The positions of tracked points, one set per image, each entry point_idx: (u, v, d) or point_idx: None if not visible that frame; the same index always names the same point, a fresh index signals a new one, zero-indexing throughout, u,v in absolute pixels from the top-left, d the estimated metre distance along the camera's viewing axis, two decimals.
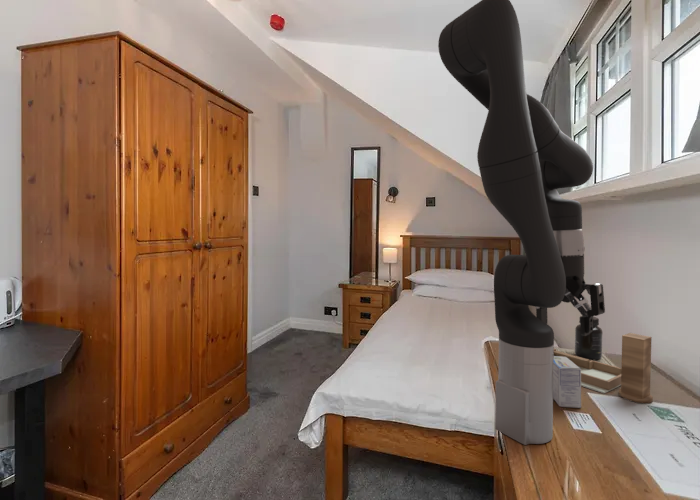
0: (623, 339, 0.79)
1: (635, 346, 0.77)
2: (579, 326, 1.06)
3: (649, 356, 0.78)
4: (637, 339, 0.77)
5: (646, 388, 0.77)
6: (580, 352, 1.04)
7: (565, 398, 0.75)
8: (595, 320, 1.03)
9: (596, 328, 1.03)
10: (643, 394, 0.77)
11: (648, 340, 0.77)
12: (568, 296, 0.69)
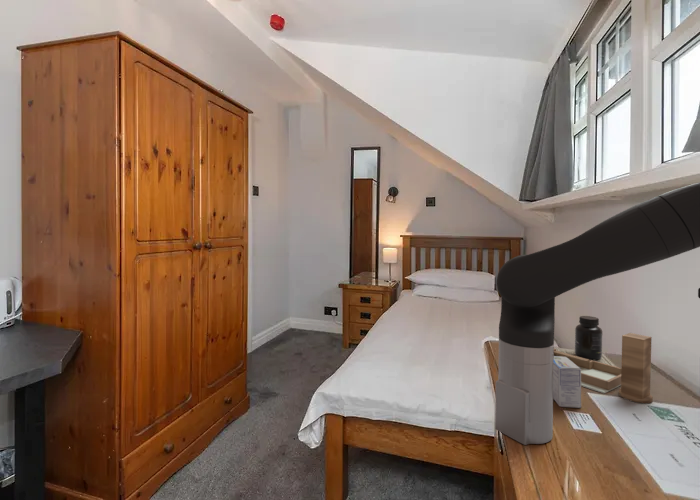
0: (623, 339, 0.79)
1: (635, 346, 0.77)
2: (579, 326, 1.06)
3: (649, 356, 0.78)
4: (637, 339, 0.77)
5: (646, 388, 0.77)
6: (580, 352, 1.04)
7: (565, 398, 0.75)
8: (595, 320, 1.03)
9: (596, 328, 1.03)
10: (643, 394, 0.77)
11: (648, 340, 0.77)
12: None
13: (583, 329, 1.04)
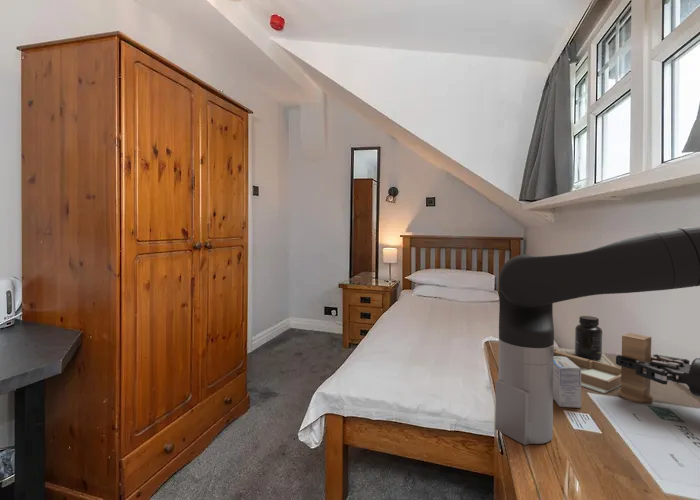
0: (623, 339, 0.79)
1: (635, 346, 0.77)
2: (579, 326, 1.06)
3: (649, 356, 0.78)
4: (637, 339, 0.77)
5: (646, 388, 0.77)
6: (580, 352, 1.04)
7: (565, 398, 0.75)
8: (595, 320, 1.03)
9: (596, 328, 1.03)
10: (643, 394, 0.77)
11: (648, 340, 0.77)
12: (665, 362, 0.73)
13: (583, 329, 1.04)
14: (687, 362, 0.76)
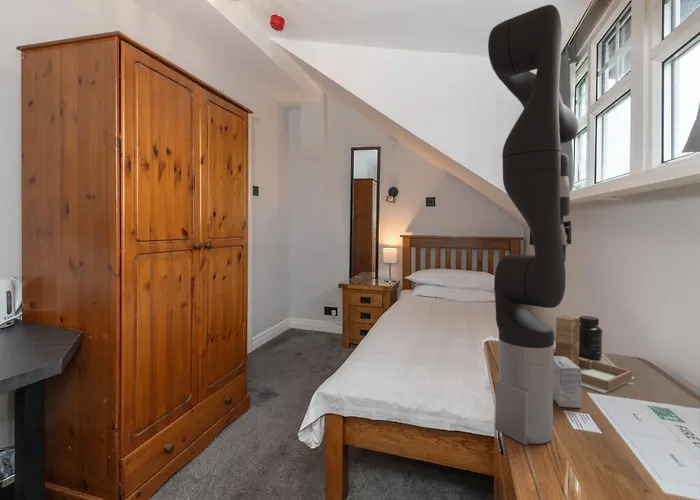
0: (557, 320, 0.96)
1: (565, 325, 0.94)
2: (579, 326, 1.06)
3: (577, 333, 0.94)
4: (567, 319, 0.94)
5: (574, 360, 0.94)
6: (580, 352, 1.04)
7: (565, 398, 0.75)
8: (595, 320, 1.03)
9: (596, 328, 1.03)
10: None
11: (576, 320, 0.94)
12: None
13: (583, 329, 1.04)
14: None
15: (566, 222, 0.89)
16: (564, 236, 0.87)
